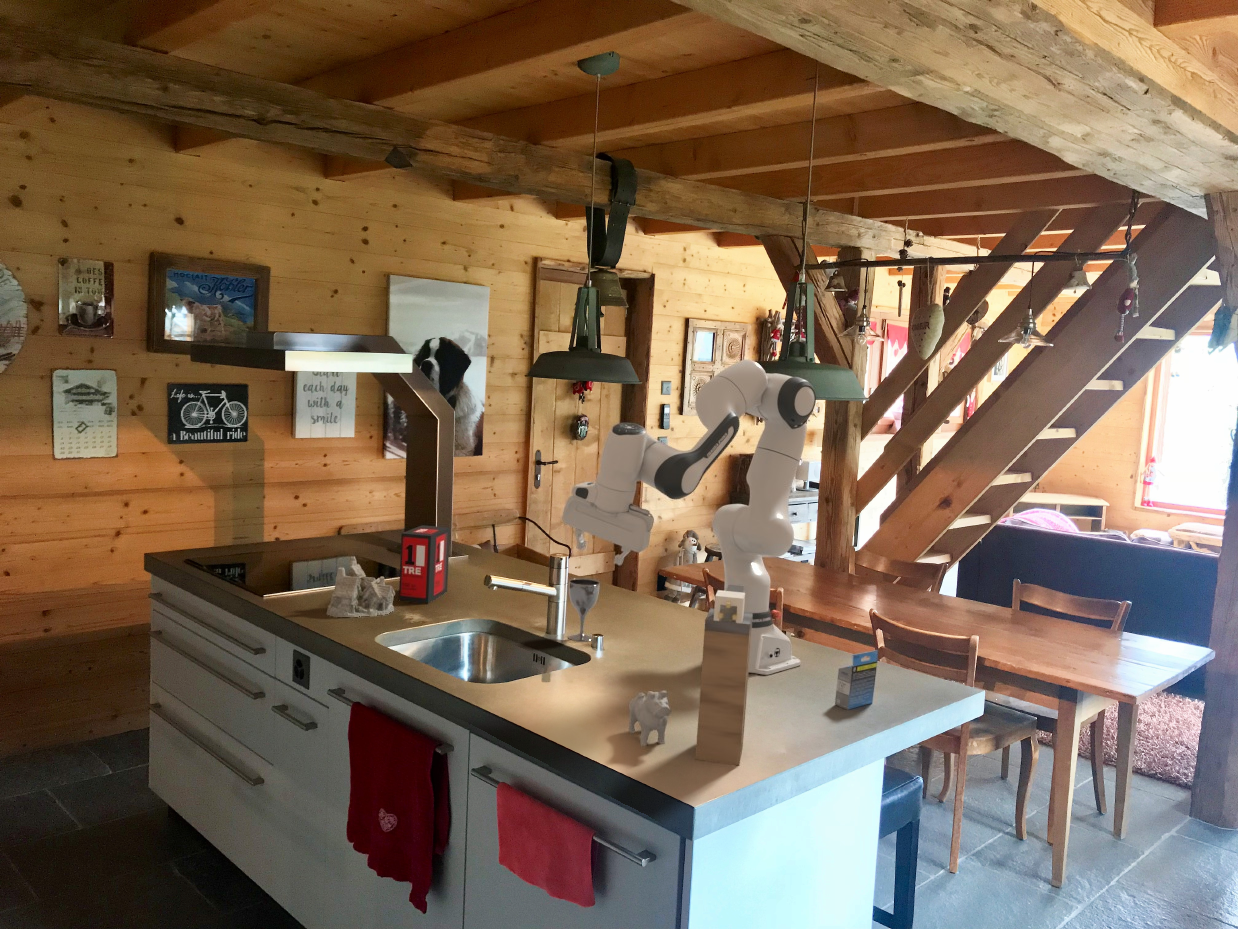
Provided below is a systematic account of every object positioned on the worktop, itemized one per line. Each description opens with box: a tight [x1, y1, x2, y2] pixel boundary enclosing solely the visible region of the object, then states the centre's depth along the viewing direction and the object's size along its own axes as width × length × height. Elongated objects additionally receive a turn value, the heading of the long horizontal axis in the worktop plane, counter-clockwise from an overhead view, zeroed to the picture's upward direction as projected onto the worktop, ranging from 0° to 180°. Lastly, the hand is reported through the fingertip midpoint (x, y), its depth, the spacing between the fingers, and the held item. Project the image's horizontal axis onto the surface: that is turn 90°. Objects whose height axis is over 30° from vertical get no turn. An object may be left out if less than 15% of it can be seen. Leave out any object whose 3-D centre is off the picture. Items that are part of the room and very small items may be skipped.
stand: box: [694, 607, 753, 766], centre depth 176 cm, size 9×8×26 cm
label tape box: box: [834, 649, 879, 711], centre depth 209 cm, size 9×4×12 cm, turn 128°
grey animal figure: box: [628, 690, 672, 747], centre depth 181 cm, size 5×13×11 cm, turn 20°
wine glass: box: [567, 577, 601, 643], centre depth 249 cm, size 8×8×15 cm
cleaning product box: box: [398, 525, 451, 605], centre depth 283 cm, size 16×9×20 cm, turn 171°
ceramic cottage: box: [326, 556, 396, 618], centre depth 261 cm, size 16×16×15 cm
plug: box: [713, 585, 745, 623], centre depth 178 cm, size 20×5×4 cm, turn 169°
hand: (599, 556), depth 208 cm, fingers open, 8 cm apart
